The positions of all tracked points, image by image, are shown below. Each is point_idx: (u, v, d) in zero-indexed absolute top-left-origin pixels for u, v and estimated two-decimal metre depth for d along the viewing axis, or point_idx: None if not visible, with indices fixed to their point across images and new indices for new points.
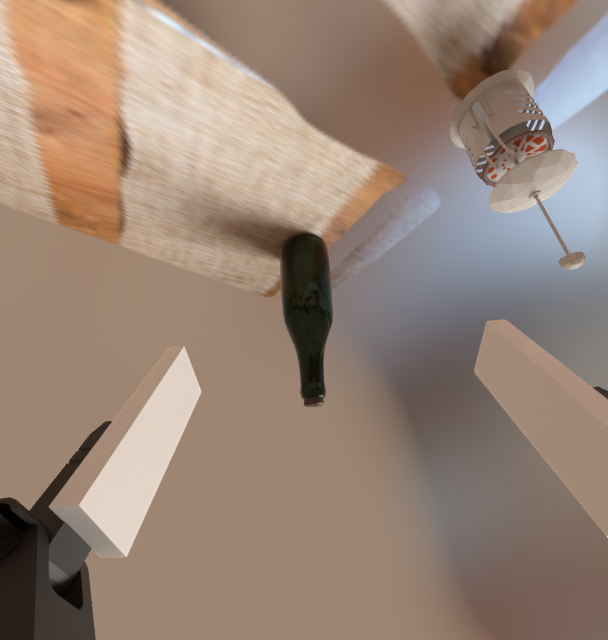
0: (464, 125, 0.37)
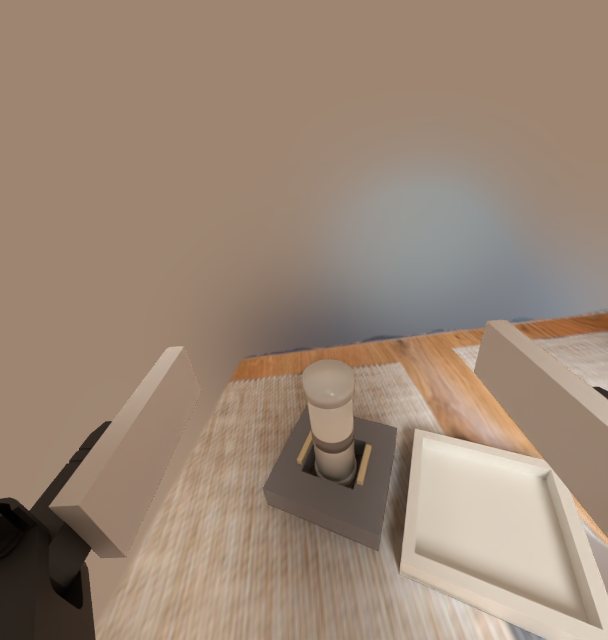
0: None
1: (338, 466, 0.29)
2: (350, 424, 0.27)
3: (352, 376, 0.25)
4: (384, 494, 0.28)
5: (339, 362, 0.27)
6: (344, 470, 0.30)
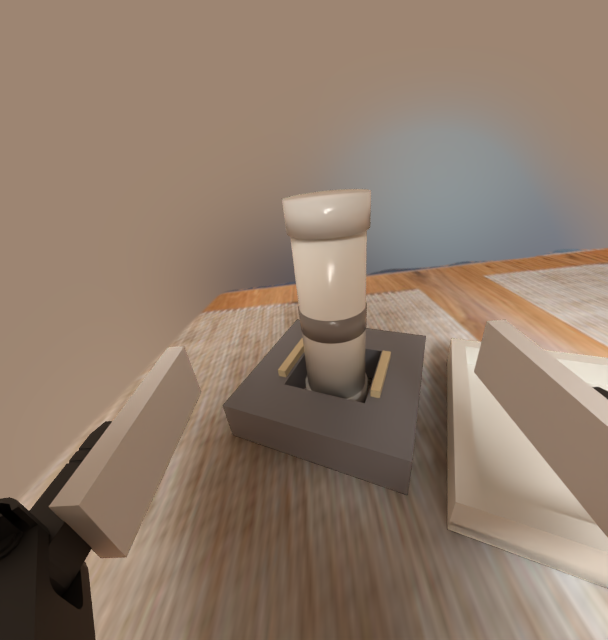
0: None
1: (341, 371, 0.18)
2: (362, 291, 0.17)
3: (368, 191, 0.15)
4: (415, 408, 0.17)
5: (345, 189, 0.17)
6: (349, 378, 0.19)
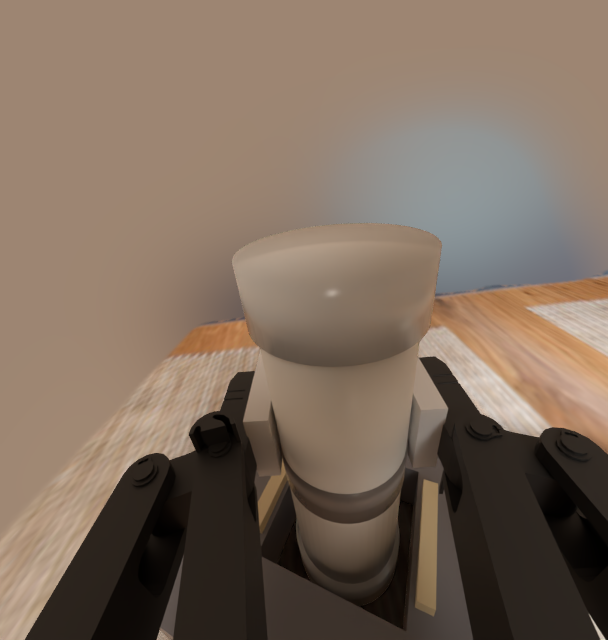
0: None
1: (359, 553, 0.10)
2: (406, 431, 0.08)
3: (433, 239, 0.06)
4: None
5: (370, 225, 0.08)
6: (373, 558, 0.11)
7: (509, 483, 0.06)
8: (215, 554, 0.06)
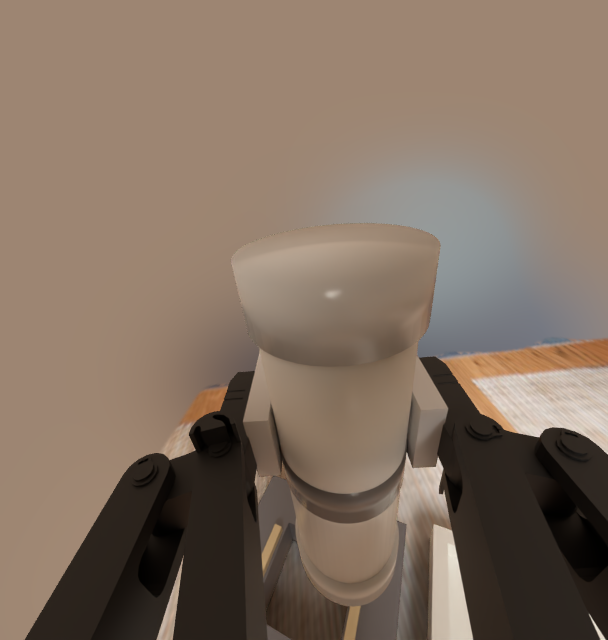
0: None
1: (358, 554, 0.10)
2: (405, 431, 0.08)
3: (431, 239, 0.06)
4: None
5: (369, 225, 0.08)
6: (373, 558, 0.11)
7: (509, 483, 0.06)
8: (215, 554, 0.06)
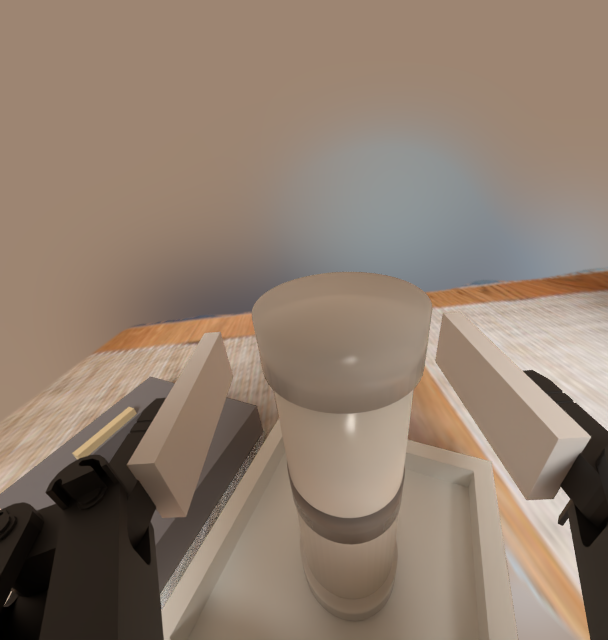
0: None
1: (360, 571, 0.11)
2: (403, 461, 0.09)
3: (425, 300, 0.07)
4: None
5: (371, 276, 0.09)
6: (373, 575, 0.11)
7: None
8: (82, 618, 0.05)
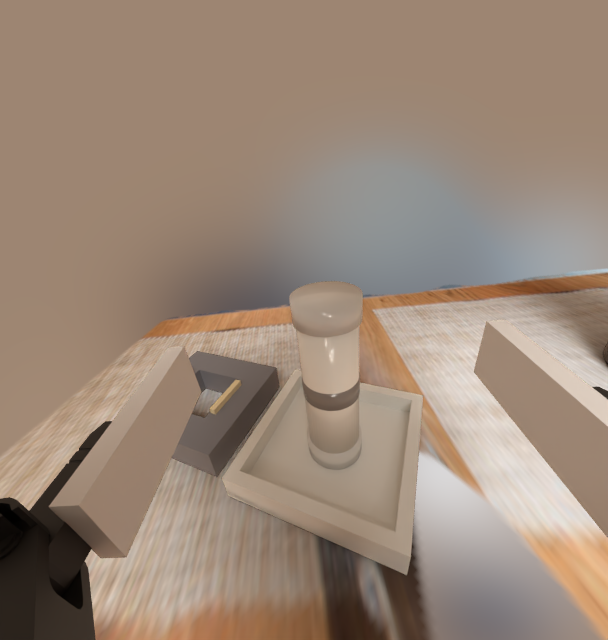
0: None
1: (338, 431, 0.21)
2: (356, 368, 0.20)
3: (360, 294, 0.18)
4: (233, 421, 0.26)
5: (341, 283, 0.20)
6: (345, 436, 0.22)
7: None
8: None
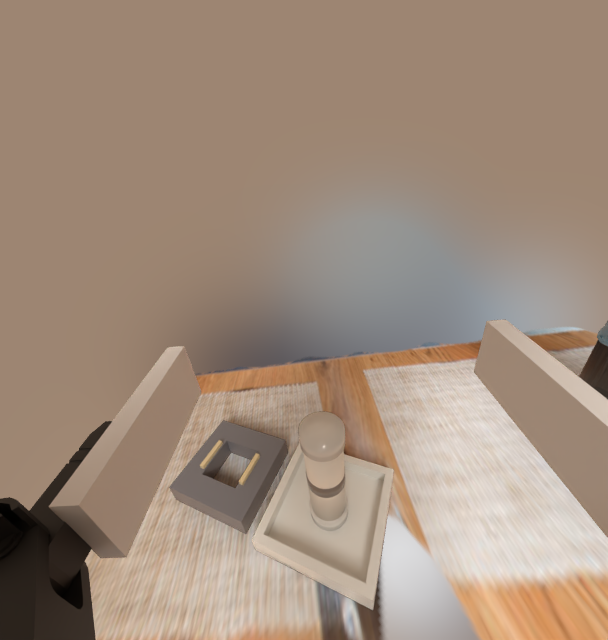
0: None
1: (330, 508, 0.32)
2: (342, 472, 0.30)
3: (343, 431, 0.28)
4: (256, 492, 0.36)
5: (332, 415, 0.30)
6: (335, 511, 0.32)
7: None
8: None
